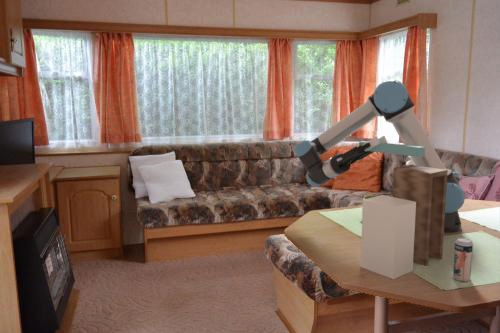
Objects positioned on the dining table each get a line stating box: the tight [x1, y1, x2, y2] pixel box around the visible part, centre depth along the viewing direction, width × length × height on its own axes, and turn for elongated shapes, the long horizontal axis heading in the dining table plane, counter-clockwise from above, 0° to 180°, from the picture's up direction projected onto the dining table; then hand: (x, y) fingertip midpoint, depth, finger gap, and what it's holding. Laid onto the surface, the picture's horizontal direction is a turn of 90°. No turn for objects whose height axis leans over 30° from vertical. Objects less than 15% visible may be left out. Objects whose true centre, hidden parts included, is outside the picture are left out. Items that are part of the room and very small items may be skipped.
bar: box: [358, 140, 425, 157], centre depth 150 cm, size 24×4×3 cm, turn 37°
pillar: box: [360, 194, 416, 280], centre depth 136 cm, size 12×10×22 cm
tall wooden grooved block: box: [392, 165, 448, 267], centre depth 144 cm, size 13×10×30 cm
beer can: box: [452, 237, 474, 282], centre depth 128 cm, size 5×5×12 cm
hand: (381, 139), depth 153 cm, fingers closed on bar, 3 cm apart
